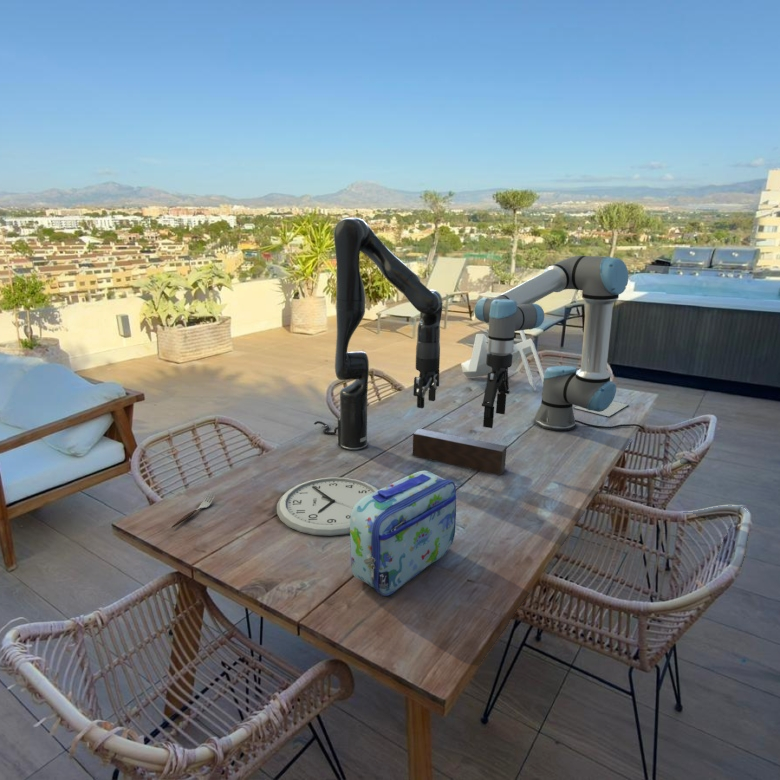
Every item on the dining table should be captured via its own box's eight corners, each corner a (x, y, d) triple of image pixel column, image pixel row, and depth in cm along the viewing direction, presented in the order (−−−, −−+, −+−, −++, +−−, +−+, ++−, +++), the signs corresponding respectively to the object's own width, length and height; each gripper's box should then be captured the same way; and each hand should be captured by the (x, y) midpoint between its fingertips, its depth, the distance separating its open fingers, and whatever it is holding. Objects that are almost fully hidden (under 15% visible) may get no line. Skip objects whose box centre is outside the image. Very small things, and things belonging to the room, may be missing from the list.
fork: (167, 528, 130) (166, 521, 130) (209, 498, 145) (208, 492, 144) (175, 530, 130) (174, 523, 129) (216, 500, 144) (216, 494, 143)
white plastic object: (482, 419, 265) (461, 396, 241) (463, 346, 287) (443, 319, 263) (553, 395, 253) (539, 368, 228) (528, 321, 275) (513, 290, 250)
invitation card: (608, 416, 214) (573, 407, 224) (608, 416, 214) (573, 408, 224) (628, 404, 229) (594, 396, 238) (628, 405, 229) (594, 397, 238)
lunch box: (378, 608, 104) (379, 516, 98) (343, 583, 112) (342, 495, 105) (459, 554, 122) (465, 473, 116) (425, 535, 129) (428, 458, 123)
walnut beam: (504, 469, 166) (506, 445, 164) (500, 475, 162) (502, 451, 160) (418, 450, 179) (419, 428, 177) (412, 455, 175) (413, 433, 172)
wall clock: (392, 527, 129) (268, 531, 127) (391, 533, 130) (269, 537, 127) (383, 473, 158) (282, 475, 155) (383, 478, 158) (282, 480, 156)
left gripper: (426, 349, 172) (425, 396, 176) (406, 358, 160) (405, 408, 164) (447, 352, 168) (445, 400, 173) (429, 361, 156) (427, 412, 161)
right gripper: (498, 343, 167) (493, 406, 173) (474, 360, 145) (469, 431, 152) (522, 346, 163) (516, 410, 170) (500, 363, 142) (494, 435, 148)
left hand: (426, 404), depth 168 cm, fingers open, 8 cm apart
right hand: (494, 420), depth 161 cm, fingers open, 13 cm apart
